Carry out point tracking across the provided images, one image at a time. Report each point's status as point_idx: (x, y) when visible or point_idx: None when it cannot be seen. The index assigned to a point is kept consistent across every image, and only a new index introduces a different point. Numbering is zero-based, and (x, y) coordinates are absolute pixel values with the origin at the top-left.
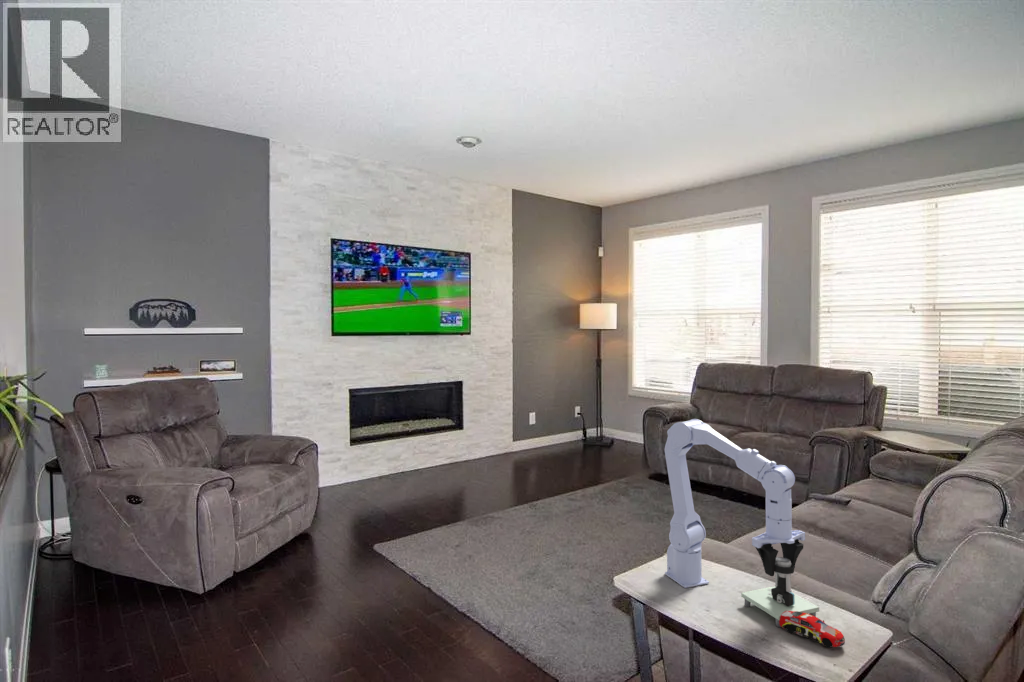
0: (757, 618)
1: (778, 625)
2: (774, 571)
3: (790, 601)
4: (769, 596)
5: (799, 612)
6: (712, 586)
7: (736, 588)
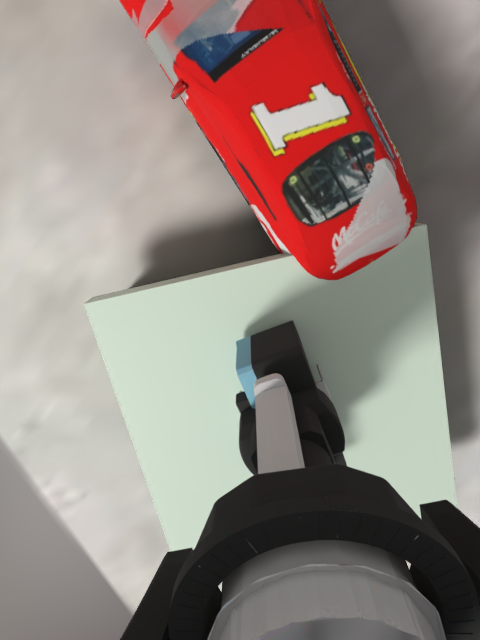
0: None
1: None
2: (446, 533)
3: (277, 336)
4: None
5: (305, 189)
6: None
7: None
